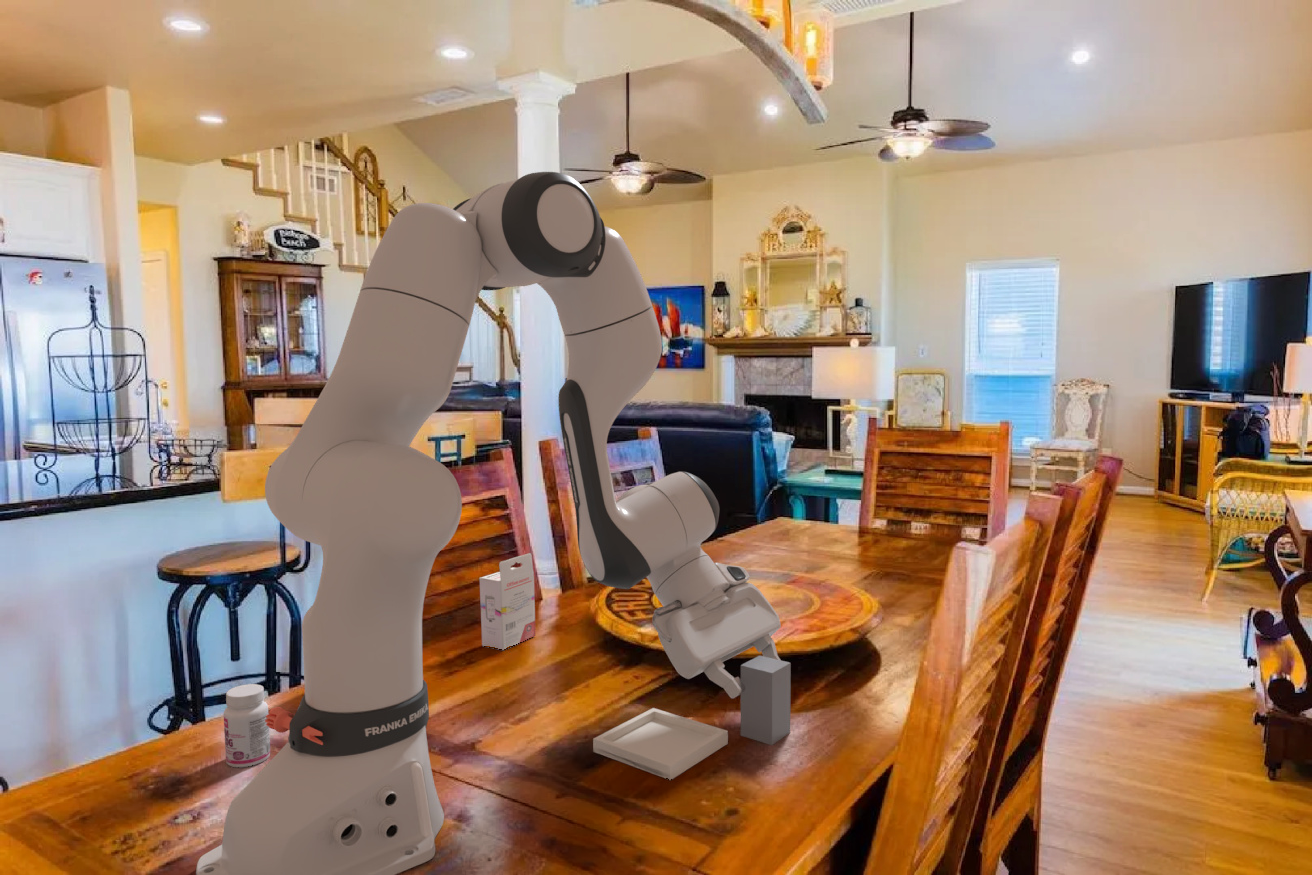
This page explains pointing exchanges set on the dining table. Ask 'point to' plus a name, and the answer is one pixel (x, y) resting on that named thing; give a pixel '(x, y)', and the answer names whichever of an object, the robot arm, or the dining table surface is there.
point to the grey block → (765, 699)
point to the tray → (660, 742)
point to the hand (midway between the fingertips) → (759, 682)
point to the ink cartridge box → (508, 604)
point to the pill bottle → (246, 726)
